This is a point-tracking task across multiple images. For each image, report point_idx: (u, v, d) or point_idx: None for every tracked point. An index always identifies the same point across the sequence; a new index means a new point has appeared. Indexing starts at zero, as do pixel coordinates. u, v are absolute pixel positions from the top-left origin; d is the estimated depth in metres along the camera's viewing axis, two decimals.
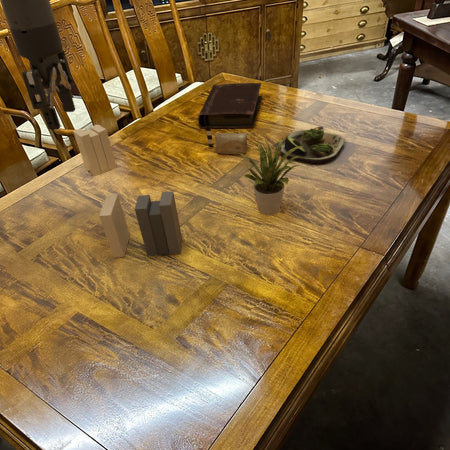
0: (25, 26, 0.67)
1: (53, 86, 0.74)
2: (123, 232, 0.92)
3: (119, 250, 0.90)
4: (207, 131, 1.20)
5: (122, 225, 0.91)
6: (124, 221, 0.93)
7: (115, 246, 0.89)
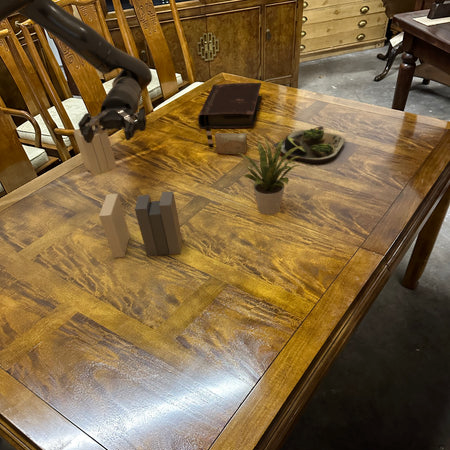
0: (137, 107, 0.99)
1: None
2: (123, 232, 0.92)
3: (119, 250, 0.90)
4: (207, 131, 1.20)
5: (122, 225, 0.91)
6: (124, 221, 0.93)
7: (115, 246, 0.89)
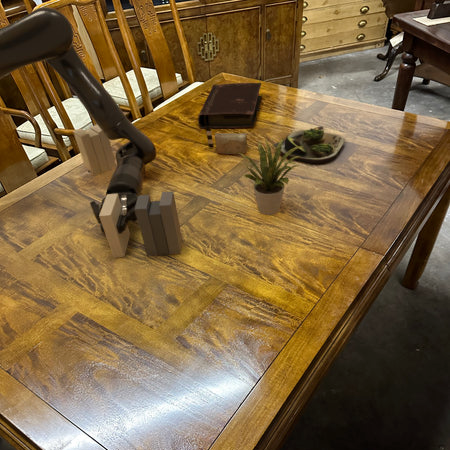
0: (141, 187, 1.00)
1: None
2: (123, 232, 0.92)
3: (119, 250, 0.90)
4: (207, 131, 1.20)
5: None
6: None
7: (115, 246, 0.89)
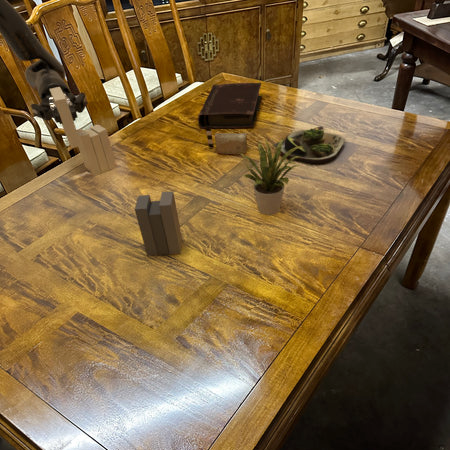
0: None
1: None
2: None
3: (77, 138, 0.98)
4: (207, 131, 1.20)
5: None
6: None
7: (72, 134, 0.97)
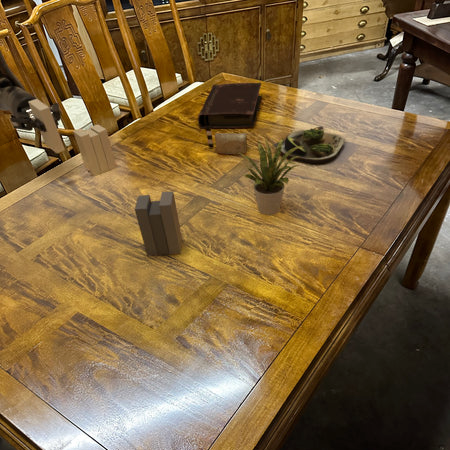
0: None
1: None
2: None
3: (60, 143, 1.07)
4: (207, 131, 1.20)
5: None
6: None
7: (56, 140, 1.06)
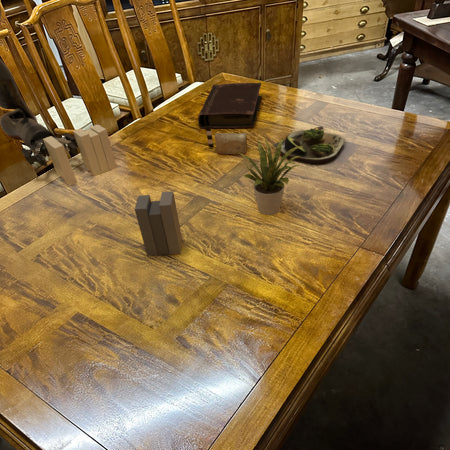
0: None
1: None
2: None
3: (73, 177, 1.14)
4: (207, 131, 1.20)
5: None
6: None
7: (69, 174, 1.13)
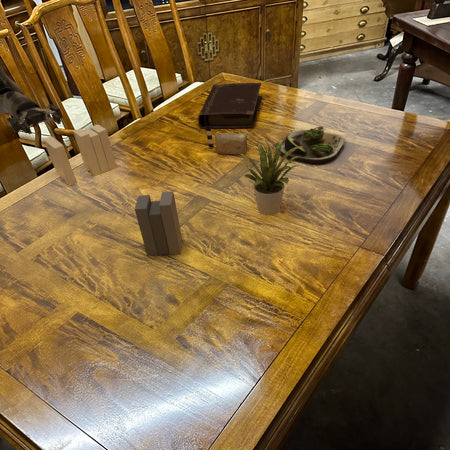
0: None
1: None
2: None
3: (73, 177, 1.14)
4: (207, 131, 1.20)
5: None
6: None
7: (69, 174, 1.13)
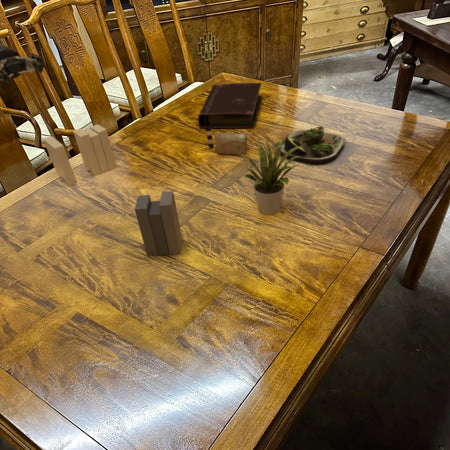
0: None
1: None
2: None
3: (73, 177, 1.14)
4: (207, 131, 1.20)
5: None
6: None
7: (69, 174, 1.13)
